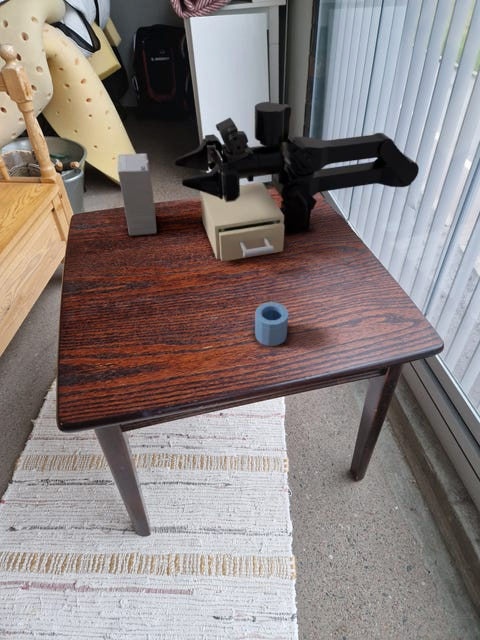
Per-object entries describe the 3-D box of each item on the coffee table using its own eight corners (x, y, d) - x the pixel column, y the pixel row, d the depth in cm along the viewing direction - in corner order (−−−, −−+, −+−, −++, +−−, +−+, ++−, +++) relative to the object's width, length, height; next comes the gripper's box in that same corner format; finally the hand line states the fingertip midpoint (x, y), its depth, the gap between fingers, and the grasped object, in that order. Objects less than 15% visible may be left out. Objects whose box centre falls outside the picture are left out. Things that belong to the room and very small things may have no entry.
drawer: (290, 264, 86) (292, 237, 82) (226, 275, 84) (225, 248, 79) (263, 217, 100) (263, 192, 95) (207, 225, 97) (205, 200, 93)
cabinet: (282, 248, 92) (284, 215, 86) (216, 259, 89) (214, 226, 84) (261, 213, 103) (262, 182, 97) (202, 222, 100) (199, 190, 94)
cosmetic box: (128, 218, 102) (114, 154, 91) (158, 215, 103) (147, 150, 92) (128, 237, 96) (113, 170, 85) (160, 234, 97) (148, 167, 86)
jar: (280, 321, 75) (282, 299, 72) (290, 342, 72) (293, 321, 68) (251, 326, 74) (251, 305, 71) (260, 349, 71) (261, 327, 67)
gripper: (242, 104, 86) (166, 113, 83) (270, 138, 73) (181, 149, 70) (243, 158, 93) (173, 167, 91) (268, 197, 81) (188, 209, 78)
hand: (178, 172), depth 82 cm, fingers open, 9 cm apart
